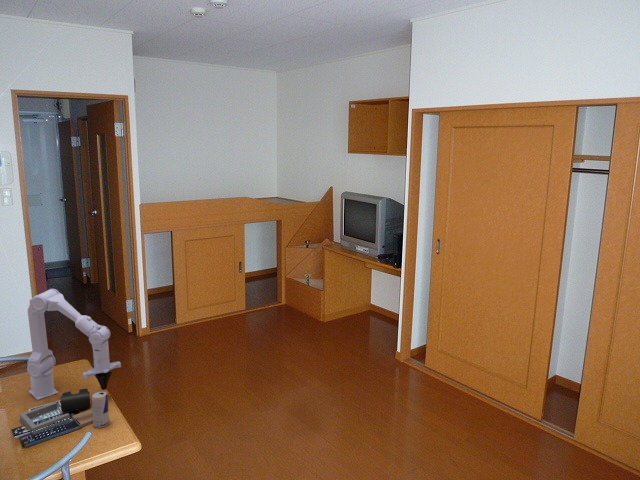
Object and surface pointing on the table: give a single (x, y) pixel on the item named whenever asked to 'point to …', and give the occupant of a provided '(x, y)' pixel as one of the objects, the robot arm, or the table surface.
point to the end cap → (75, 400)
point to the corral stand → (42, 410)
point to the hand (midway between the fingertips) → (103, 388)
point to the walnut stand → (84, 418)
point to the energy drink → (100, 409)
